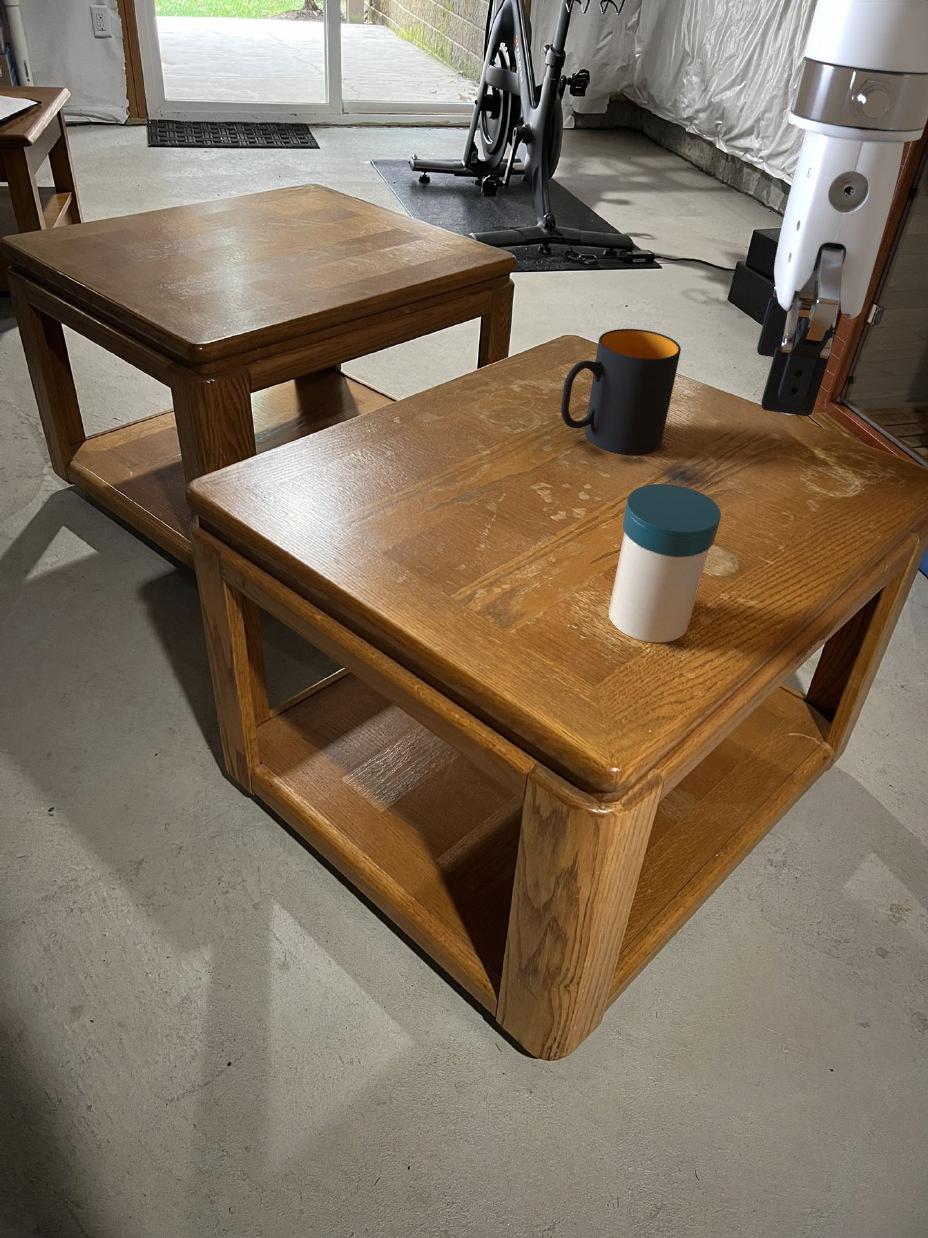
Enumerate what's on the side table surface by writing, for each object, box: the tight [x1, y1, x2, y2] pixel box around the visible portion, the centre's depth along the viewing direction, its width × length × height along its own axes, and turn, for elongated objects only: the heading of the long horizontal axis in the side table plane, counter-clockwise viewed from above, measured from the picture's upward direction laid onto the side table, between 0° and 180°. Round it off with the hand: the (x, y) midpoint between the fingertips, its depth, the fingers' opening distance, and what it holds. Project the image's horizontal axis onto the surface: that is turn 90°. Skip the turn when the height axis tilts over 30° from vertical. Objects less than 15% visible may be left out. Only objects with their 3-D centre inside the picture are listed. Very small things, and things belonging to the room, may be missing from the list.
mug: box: [560, 328, 682, 456], centre depth 97 cm, size 8×12×10 cm
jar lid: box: [622, 483, 722, 556], centre depth 69 cm, size 7×7×2 cm
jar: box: [608, 530, 710, 644], centre depth 72 cm, size 6×6×10 cm
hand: (781, 382), depth 64 cm, fingers open, 9 cm apart
